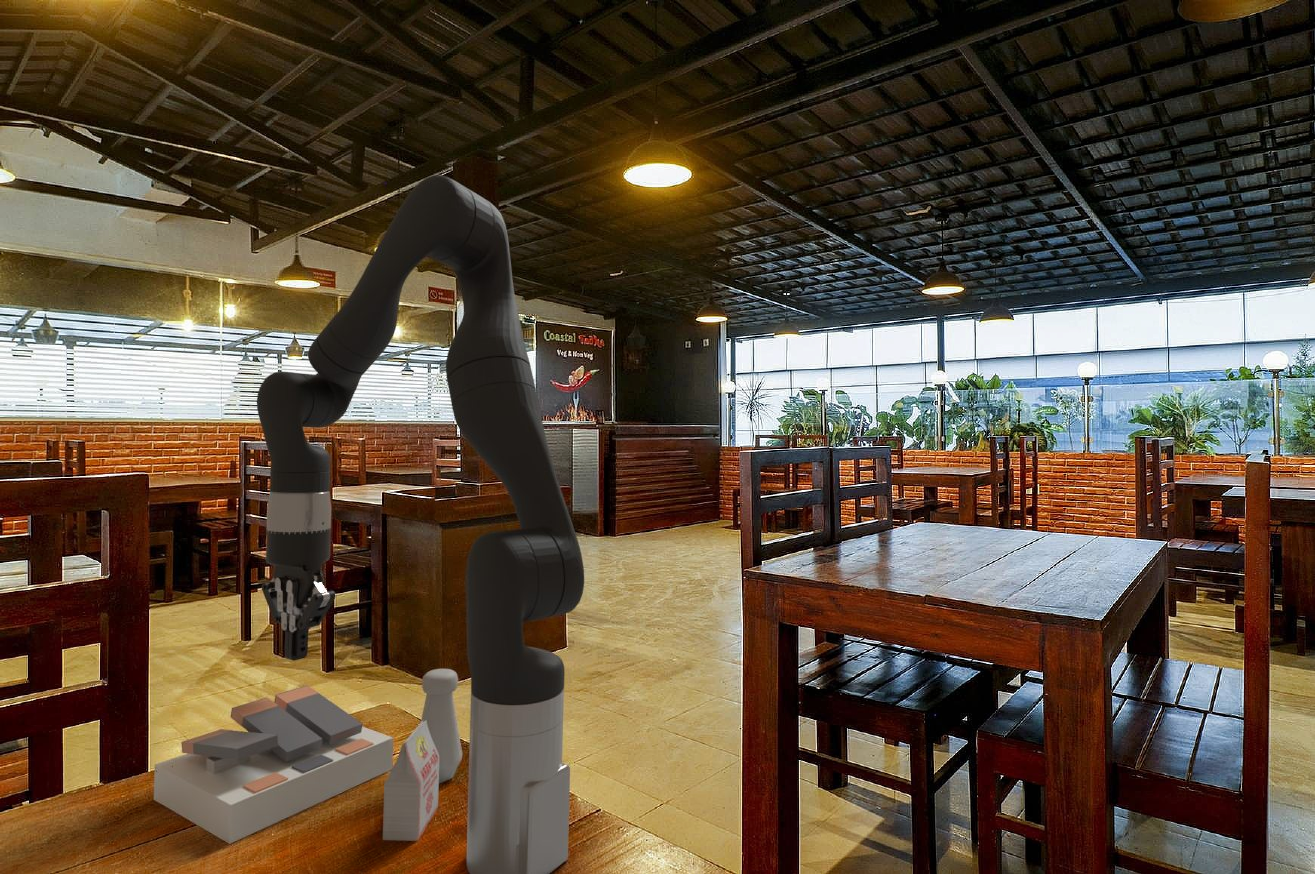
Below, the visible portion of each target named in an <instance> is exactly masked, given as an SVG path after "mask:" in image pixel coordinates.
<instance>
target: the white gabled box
mask: <svg viewBox="0 0 1315 874" xmlns="http://www.w3.org/2000/svg"><path fill="white" fill-rule="evenodd" d="M393 764H394V765H393V768H392V770H390V772H389V774H388V776H387V778H386V779H385V781H384V783H383V784H384V785H383V787H384V789H383V791H384V792H383V817H382V818H383V820H382V821H383V824H382V840H383V841H407V842H409V841H411V842H413V841H414V842H417V841H419V840H420V838H421V836H423V833H424V831H425V830H426V828H427V827H428V825H429V823H430V822H431V820H432V819H433V817H434V815H435V814H436V812H437V810H438V809H439V785H440V783H439V754H438V751H437V749H436V747H435V745H434V742H433V740H432V738H431V735H430V732H429V729H428V726H427V720H425V721H424V722H423V721H422V722H421V721H420V723H419V724H418V725H417V726H416V728H415V729H414V730H413V731H412V732H411V734H410V735H409V736H408V737H407V739H405V741H404V742H403V743H402V744H401V747H400V751H399V753H398V756H397V758H396V761H395V762H394V763H393Z"/></svg>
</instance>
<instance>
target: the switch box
mask: <svg viewBox="0 0 1315 874" xmlns="http://www.w3.org/2000/svg"><path fill="white" fill-rule="evenodd" d="M393 758H394V737H393V736H389V735H387V734H384V733H381V732H378V731H375V730H373V729H371V728H369V727H368V728H367V727H365V726H362V731H361V733H359V734H356V735H354V736H351V737H349V738H346V739H343V740H341V741H338V742H336V743H333V744H330V745H329V744H328V743H326V742H325V741H324V740H322V746H321V748H320V749H318V750H315V751H312V752H310V753H307V754H305V755H302V756H300V757H297V758H294V759H292V760H289V761H287V762H285V761H284V760H283V759H281V758H280V757H279V756H278V755H277V754H275V753H274V752H273V751H272V750H270V749H268V750H265V751H263V752H260V753H257V754H254V755H252V756H249V757H246V758H243V759H241V760H233V759H226V758H218V757H211V756H204V755H196V754H187V753H184V754H183V755H179V756H177V757H174V758H170V759H168V760H165V761H161V762H158V763H156V764H154V774H153V775H154V776H153V777H154V779H153V800H154V801H155V802H157V803H159V804H160V805H163V806H164V807H166V808H167V809H169V810H171V811H172V812H174V813H176V814H177V815H179V816H181V817H183V818H184V819H186V820H188V821H190V822H191V823H193V824H194V825H196V826H197V827H200V828H202V829H203V830H205V831H207V832H208V833H210V834H212V835H214V836H215V837H217V838H219V839H220V840H222V841H224V842H226V843H227V844H228V845H229V844H232V843H233V844H234V843H235V842H237V841H239V840H241V839H244V838H247V837H248V836H250V835H253V834H255V833H256V832H259V831H261V830H263V829H266V828H268V827H270V826H272V825H274V824H277V823H278V822H279V823H280V821H283V820H284V819H287V818H290V817H292V816H295V815H296V814H298V813H300V812H303V811H305V810H307V809H308V808H311V807H313V806H315V805H318V804H321V803H322V802H324V801H327V800H329V799H331V798H333V797H335V796H337V795H340V794H341V793H343V792H346V791H348V790H351V789H352V788H355V787H357V786H358V785H361V784H364V783H365V782H367V781H370V780H373V779H374V778H377V777H379V776H381V775H384V774H386V773H387V772H389V771H390V772H391V770H392V768H393V766H394V765H393V764H394V763H393V762H394V759H393ZM172 766H173V767H172ZM156 771H157V772H156Z"/></svg>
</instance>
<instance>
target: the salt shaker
mask: <svg viewBox="0 0 1315 874" xmlns="http://www.w3.org/2000/svg"><path fill="white" fill-rule="evenodd" d="M458 686H459V676H458V674H457V672H456V671H455V670H453V669H450V668H435V669H432V670H429V671H428V672H426V673H425V674H424V675H423V676H422V680H421V688H422V691H423V693H424V694H426V695H425V701H424V706H423V711H422V714H421V715H422V716H421V719H420V723H421V722H422V721H423V722H424V721H425V720H427V726H428V729H429V732H430V735H431V738H432V740H433V742H434V745H435V747H436V749H437V751H438V754H439V784H442V783H444V782H447V781H449V780H451V779H453V778H454V776H455V774H456V771H457V769H458V767H459V766H460V763H461V761H462V760H463V749H462V745H461V739H460V732H459V726H458V722H457V716H456V713H457V712H456V708H455V700H454V694H453V692H455V691H456V690H458V689H457V688H458Z"/></svg>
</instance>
